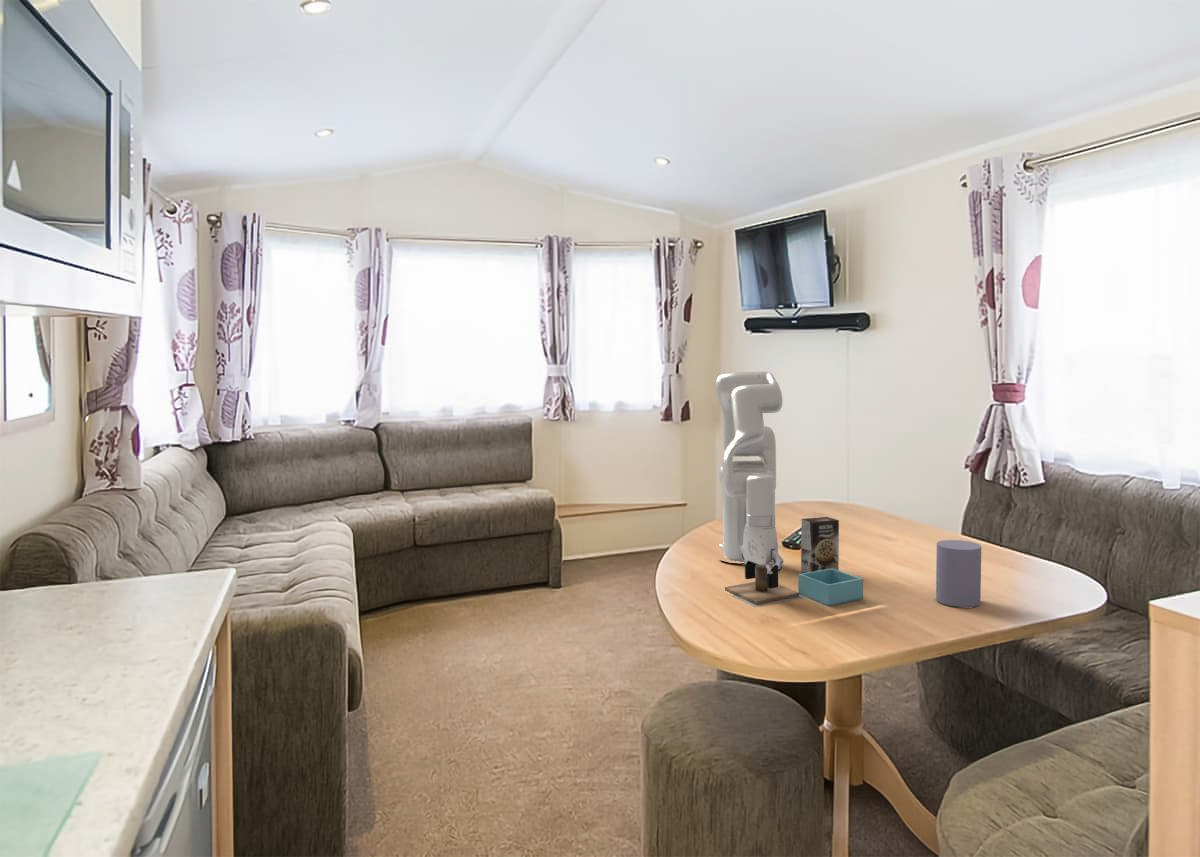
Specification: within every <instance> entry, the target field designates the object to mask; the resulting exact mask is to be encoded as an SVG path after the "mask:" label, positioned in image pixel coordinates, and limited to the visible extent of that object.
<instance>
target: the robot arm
mask: <svg viewBox="0 0 1200 857" xmlns="http://www.w3.org/2000/svg"><path fill="white" fill-rule="evenodd" d="M715 392H716V396H717V399H718V402H719V405H720V407H721V410H722V415H723V416H722V420H723V422H722V424H723V425H722V427H723V450H724V453H723V455H722V459H721V460H722V461H721V466H720V468H719V475H718V476H719V481H720V488H721V497H722V498H721V499H722V543H720V544H719V545H718V547H719V549H722V552H721V553H723V555H724V557H725V558H728V559H729V560H730V561H735V562H736V561H739V562H744V564H743V565H744V579H746V580H751V579H752V580H753V579H755V568H756V567H757V566H756V565H759V566H760V567H766V568H767V588H769V589H771V588H776V587H778V584H779V574H780V572H781V570H782V567H783V565H784V564H783V563H784V559H783V557H782V556H781V555H780V554H779V544H778V543H779V542H778V533H777V529H776V488H777V446H776V445H777V443H776V435H775V433H774V430H773V429H772V428H771V427H770V426H767V425H765V424H764V414H774V413H775V414H777V413H779V412H780V411H781V409H782V408H783V394H782V390H781V388H780V385H779V383H778V381H777V380H776V378H775V376H774V374H772V373H771V372H769V371H738V372H737V371H736V372H725V373H722V374H720V375H718V376H717V378H716V380H715ZM734 457H739V458H743V457H745V458H746V457H747V458H749V457H758V458H760V460H757V459H756V460H733V459H734Z"/></svg>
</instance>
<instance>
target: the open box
mask: <svg viewBox="0 0 1200 857" xmlns="http://www.w3.org/2000/svg"><path fill="white" fill-rule="evenodd" d="M797 580H798V581H797V582H798V584H797V586H798V591H797V592H798V593H799V595H801V596H804V597H803V598H807V599H809V600H812V601H815V602H817V603H819V604H820V605H821V604H822V605H824V606H826V607H834V606H837V605H841V604H847V603H851V602H856V601H857V602H858V601H861V600H864V578H862V577H860V576H856V575H854V574H850V573H848V572H845V571H841V570H836V569H833V568H830V569H825V570H819V571H814V572H808V573H804V572H802V573H798V576H797Z"/></svg>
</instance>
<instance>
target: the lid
mask: <svg viewBox="0 0 1200 857" xmlns="http://www.w3.org/2000/svg"><path fill="white" fill-rule="evenodd" d="M767 574H768V570H767V568H766V566H756V568H755V578H754V579H755V581H752V582H745V583H741V584H736V585H735V584H734V585H730V586H725V587H724V589H725V591H727V592H729V593H731V594H733V595H735V596H737V597H740V598H742V599H744V600H746V601H748V602H750V603H753V604H755V605H759V604H764V603H769V602H774V601H779V600H784V599H790V598H795V597H799V593H798V591H796V590H794V589H790V588H789V587H786V586H783V585H781V584H779V583H778V587H776V588H771V589H769V588H767Z"/></svg>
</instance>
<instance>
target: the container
mask: <svg viewBox="0 0 1200 857" xmlns="http://www.w3.org/2000/svg"><path fill="white" fill-rule="evenodd" d="M935 561H936V566H935V567H936V569H935V572H936V573H935V574H936V575H935V577H936V578H935V582H936V583H935V585H936V586H935V589H936V590H935V599H936V601H937V602H938V603H940V604H942V605H944V604H945V605H944V606H947V605H948V607H951V606H952V608H957V607H973V608H976V607H978V606H980V605H981V597H982V596H981V590H982V589H981V587H982V586H981V584H982V545H981V544H979V543H977V542H974V541H968V540H959V539H958V540H957V539H944V540H940V541H937V542H936V560H935ZM975 606H976V607H975Z"/></svg>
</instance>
